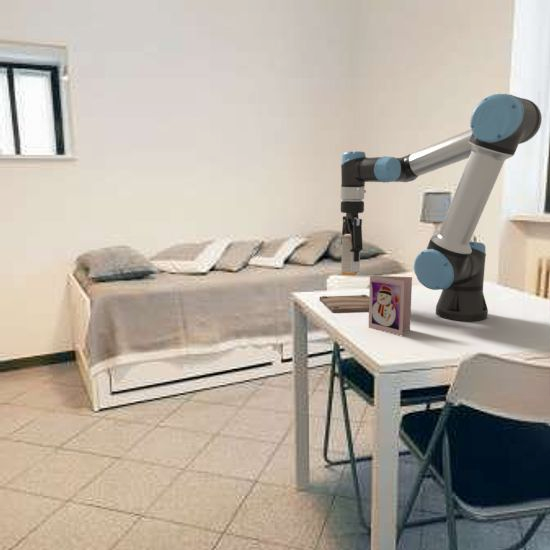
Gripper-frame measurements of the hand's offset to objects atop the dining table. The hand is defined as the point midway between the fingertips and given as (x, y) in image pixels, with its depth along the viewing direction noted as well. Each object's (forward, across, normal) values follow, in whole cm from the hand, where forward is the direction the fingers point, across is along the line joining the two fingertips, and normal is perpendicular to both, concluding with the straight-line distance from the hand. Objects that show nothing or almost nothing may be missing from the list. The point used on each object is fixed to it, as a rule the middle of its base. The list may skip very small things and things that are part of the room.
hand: (350, 268), depth 175 cm
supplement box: (+2, 0, 0) cm, 2 cm away
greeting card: (+12, -31, -3) cm, 33 cm away
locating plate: (+12, 0, 0) cm, 12 cm away
